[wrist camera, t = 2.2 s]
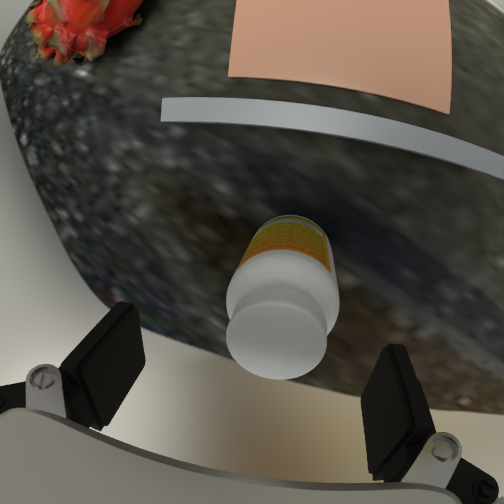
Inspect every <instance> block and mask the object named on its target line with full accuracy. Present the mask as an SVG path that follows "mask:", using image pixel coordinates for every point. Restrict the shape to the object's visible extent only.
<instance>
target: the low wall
mask: <svg viewBox="0 0 504 504" xmlns="http://www.w3.org/2000/svg"><path fill="white" fill-rule="evenodd" d="M161 121H164V122H184V123H204V124H227V125H242V126H255V127H266V128H276V129H285V130H294V131H302V132H309V133H316V134H323V135H329V136H335V137H341V138H347V139H353V140H358V141H363V142H368V143H373V144H378V145H383V146H387V147H392V148H396V149H400V150H404V151H408V152H412V153H416V154H420V155H424V156H428V157H431V158H435V159H439V160H442V161H445V162H449V163H452V164H455V165H459V166H462V167H465V168H469V169H472V170H475V171H479V172H482V173H485V174H488V175H491V176H495V177H498V178H501V179H504V156H502V155H499V154H497V153H494V152H492V151H489V150H487V149H484V148H482V147H479V146H476V145H474V144H471V143H468V142H465V141H463V140H460V139H457V138H454V137H451V136H448V135H444V134H441V133H438V132H435V131H431V130H428V129H425V128H421V127H417V126H414V125H410V124H406V123H402V122H398V121H394V120H390V119H386V118H381V117H377V116H372V115H367V114H362V113H357V112H352V111H346V110H341V109H335V108H329V107H322V106H315V105H308V104H300V103H291V102H281V101H270V100H258V99H241V98H210V97H187V98H162V111H161Z"/></svg>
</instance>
